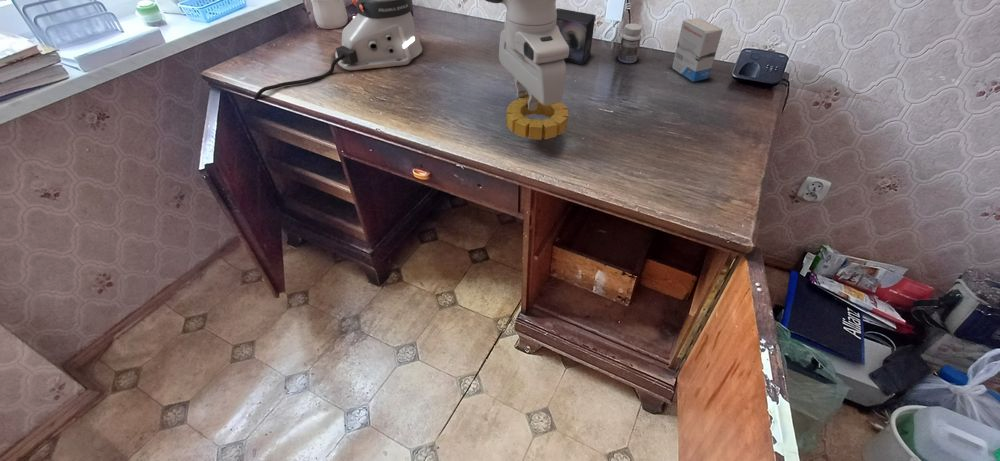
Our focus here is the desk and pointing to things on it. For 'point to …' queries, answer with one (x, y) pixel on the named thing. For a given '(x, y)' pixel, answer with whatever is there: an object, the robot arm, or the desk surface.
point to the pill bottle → (630, 43)
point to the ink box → (696, 49)
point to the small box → (576, 33)
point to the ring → (536, 127)
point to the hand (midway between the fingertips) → (526, 104)
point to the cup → (330, 13)
